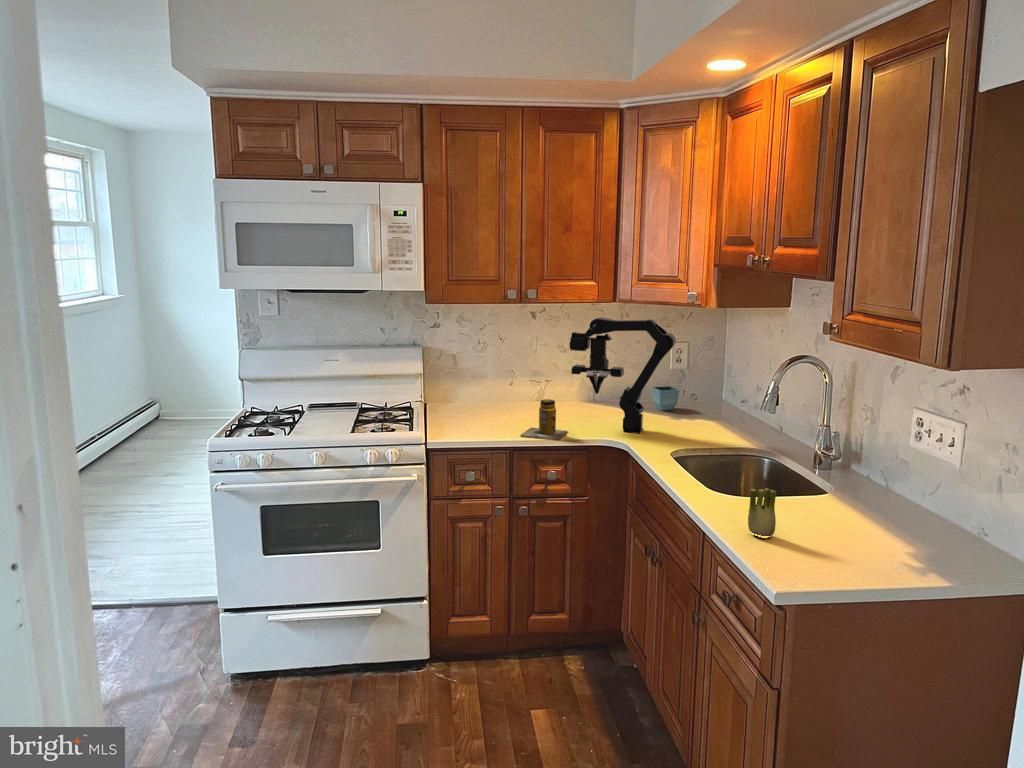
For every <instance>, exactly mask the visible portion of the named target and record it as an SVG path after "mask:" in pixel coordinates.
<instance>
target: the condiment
mask: <svg viewBox="0 0 1024 768" xmlns="http://www.w3.org/2000/svg"><path fill="white" fill-rule="evenodd" d="M539 406H540V407H539V409H538V428H539V431H531V433H533V434H535V435H538V436H548V435H555V434H560V433H558V432H555V431H556V430H557V428H556V426H557V425H556V423H557V408H556V401H555V400H554V399H548V398H547V399H541V400H540V405H539Z"/></svg>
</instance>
